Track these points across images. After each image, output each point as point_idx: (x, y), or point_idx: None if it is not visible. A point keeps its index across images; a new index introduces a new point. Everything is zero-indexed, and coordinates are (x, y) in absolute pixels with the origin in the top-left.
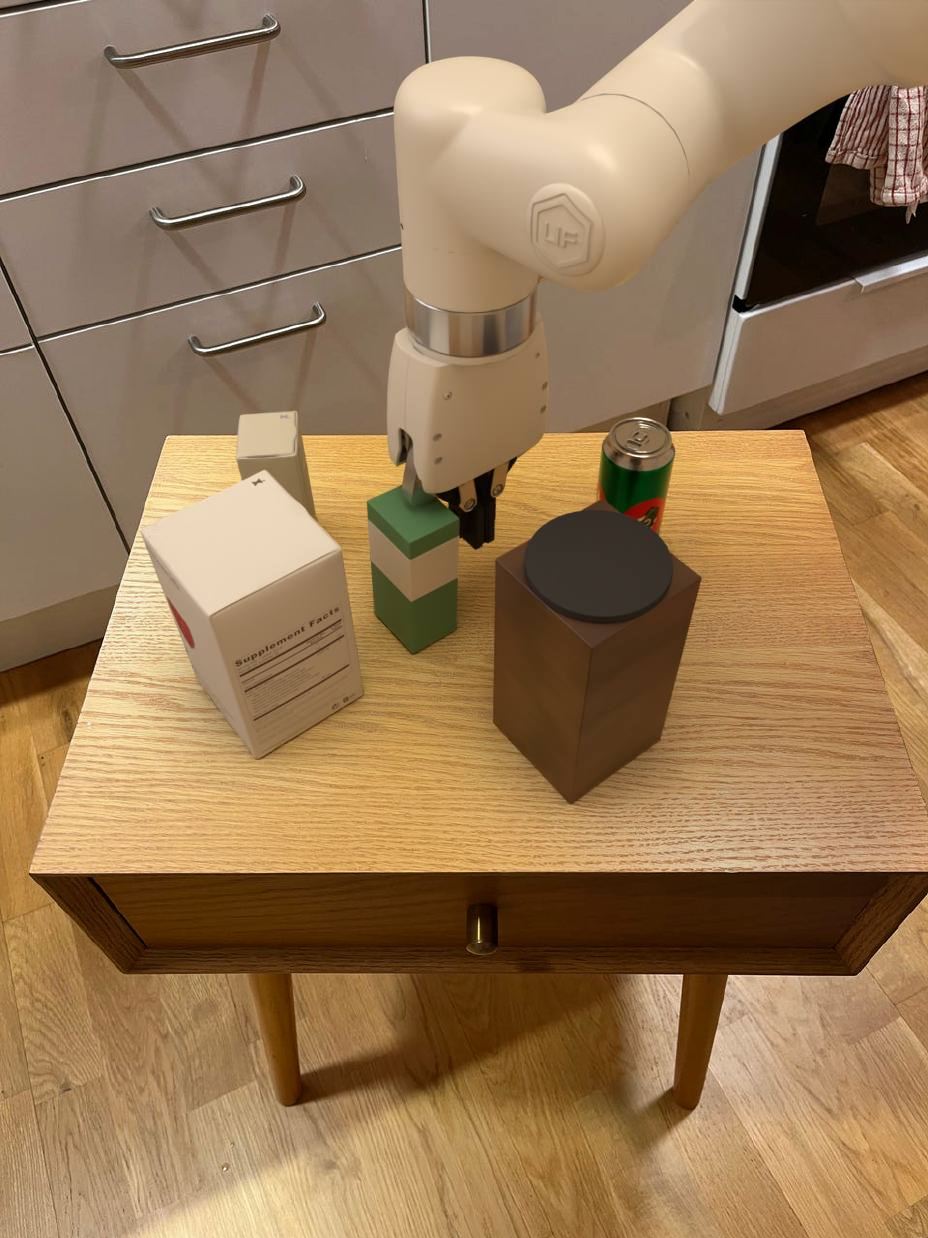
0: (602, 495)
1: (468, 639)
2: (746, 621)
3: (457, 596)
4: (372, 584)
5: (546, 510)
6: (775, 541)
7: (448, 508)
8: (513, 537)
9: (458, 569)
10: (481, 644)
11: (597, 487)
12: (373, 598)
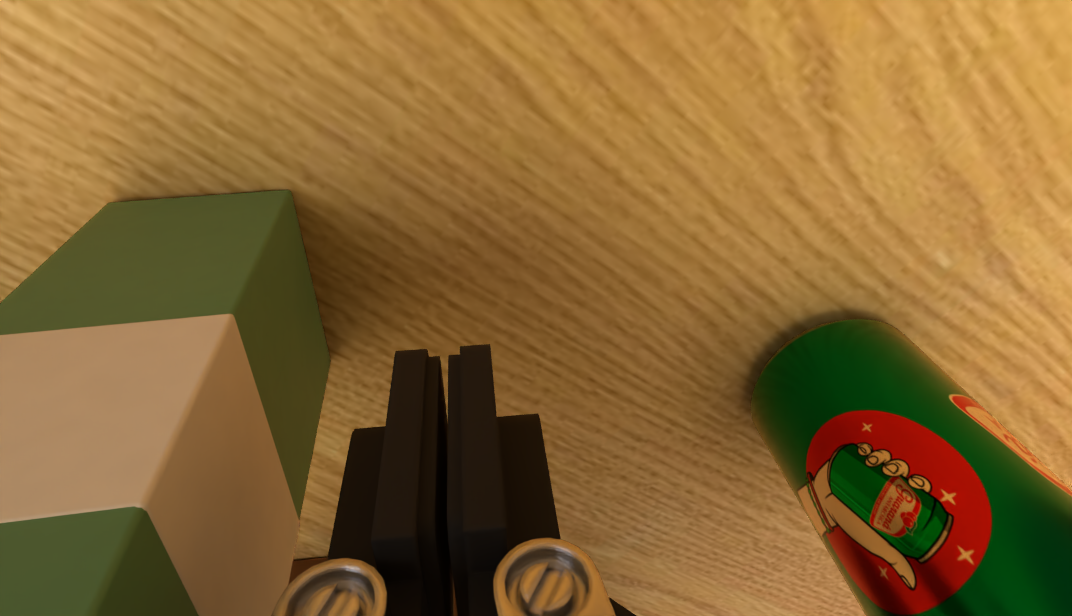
0: (895, 597)
1: (344, 394)
2: (833, 576)
3: (312, 453)
4: (40, 266)
5: (849, 128)
6: (1065, 482)
7: (336, 513)
8: (682, 167)
9: (293, 554)
10: (366, 418)
11: (925, 556)
12: (76, 232)
